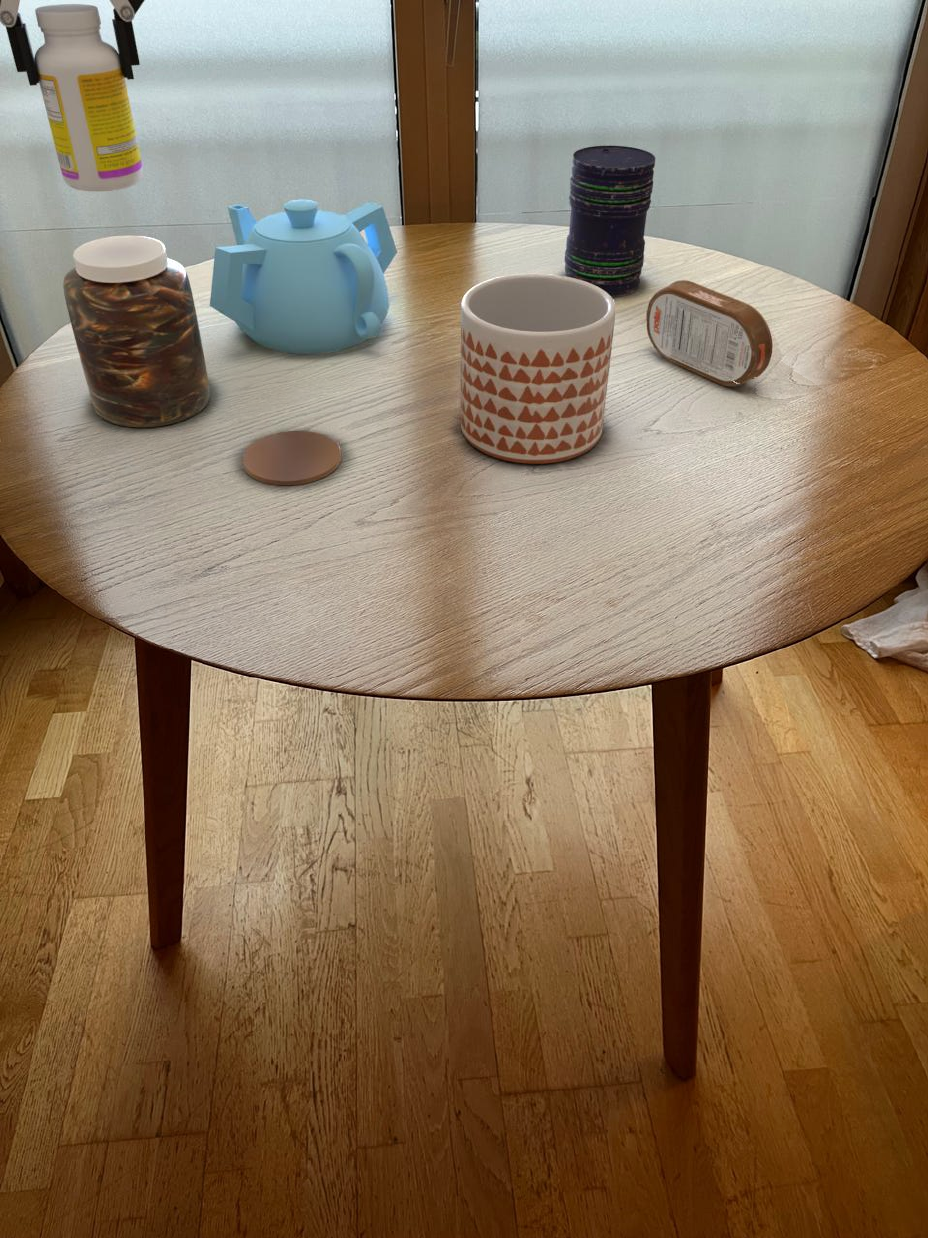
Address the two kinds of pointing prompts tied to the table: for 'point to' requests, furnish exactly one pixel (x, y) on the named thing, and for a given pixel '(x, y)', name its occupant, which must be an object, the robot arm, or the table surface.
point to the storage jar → (609, 216)
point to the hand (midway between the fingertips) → (81, 76)
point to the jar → (136, 332)
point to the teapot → (305, 276)
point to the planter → (535, 366)
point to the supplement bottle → (86, 100)
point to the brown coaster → (291, 458)
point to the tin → (709, 333)
